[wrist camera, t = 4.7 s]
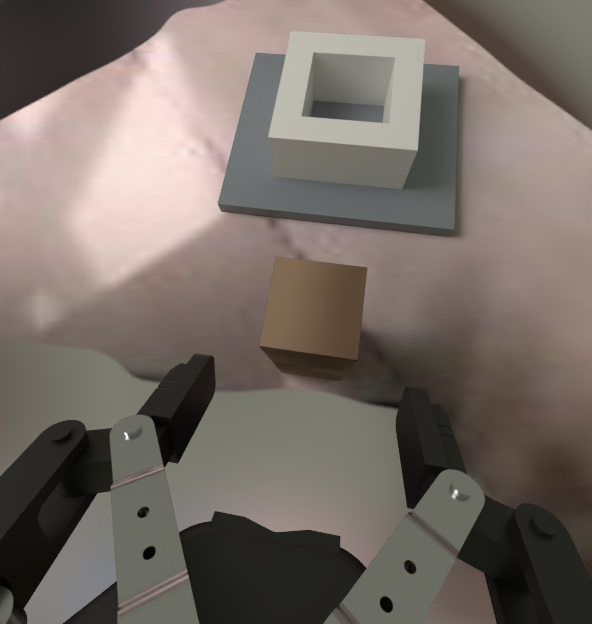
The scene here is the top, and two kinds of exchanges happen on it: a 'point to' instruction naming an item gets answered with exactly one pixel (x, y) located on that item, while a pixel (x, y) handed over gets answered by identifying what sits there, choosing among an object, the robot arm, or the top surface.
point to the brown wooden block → (313, 317)
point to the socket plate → (340, 198)
